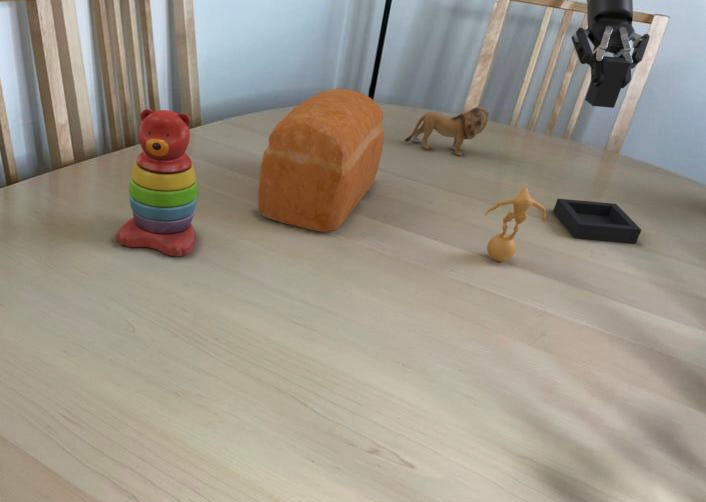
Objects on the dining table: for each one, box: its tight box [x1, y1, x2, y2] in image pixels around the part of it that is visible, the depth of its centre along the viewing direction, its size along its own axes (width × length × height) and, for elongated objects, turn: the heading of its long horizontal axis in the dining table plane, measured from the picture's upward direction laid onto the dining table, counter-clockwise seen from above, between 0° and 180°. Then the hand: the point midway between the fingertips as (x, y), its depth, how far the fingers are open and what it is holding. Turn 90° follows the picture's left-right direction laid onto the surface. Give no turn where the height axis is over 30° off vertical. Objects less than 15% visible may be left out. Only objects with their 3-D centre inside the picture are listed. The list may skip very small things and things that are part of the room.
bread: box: [257, 88, 385, 233], centre depth 118 cm, size 14×26×16 cm, turn 157°
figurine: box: [484, 187, 547, 262], centre depth 105 cm, size 8×6×12 cm
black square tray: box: [552, 198, 642, 244], centre depth 121 cm, size 10×10×2 cm
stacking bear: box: [115, 108, 199, 257], centre depth 101 cm, size 11×10×18 cm
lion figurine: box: [403, 106, 490, 156], centre depth 145 cm, size 15×5×9 cm, turn 79°
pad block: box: [584, 55, 630, 109], centre depth 137 cm, size 4×4×8 cm
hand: (611, 84), depth 135 cm, fingers closed on pad block, 4 cm apart
